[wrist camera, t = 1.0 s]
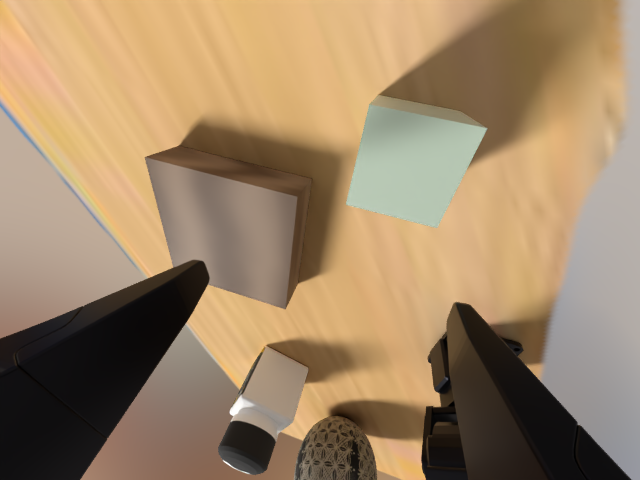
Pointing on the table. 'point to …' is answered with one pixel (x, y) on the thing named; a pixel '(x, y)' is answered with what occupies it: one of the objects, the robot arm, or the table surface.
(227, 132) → the table surface
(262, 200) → the walnut block
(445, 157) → the sage pill box
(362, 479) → the decorative egg
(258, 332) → the table surface
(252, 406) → the medicine bottle
